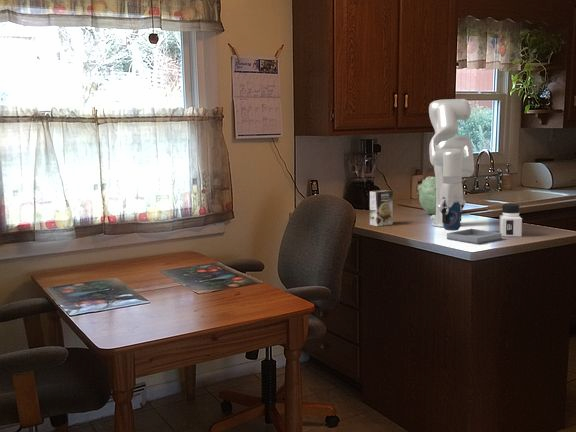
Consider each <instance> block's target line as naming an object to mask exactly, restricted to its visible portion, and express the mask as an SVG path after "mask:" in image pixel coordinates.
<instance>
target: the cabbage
mask: <svg viewBox="0 0 576 432" xmlns="http://www.w3.org/2000/svg"><path fill="white" fill-rule="evenodd" d="M417 191H418V193H417V195H418V201H419V204H420V205H421V207H422V209H423V210H424V211H425V212H426V213H427V214H429V215H431V216H432V215H436V178H435V176H430V175H429V176H426V178H425V179H422V181H421V184H418V185H417Z"/></svg>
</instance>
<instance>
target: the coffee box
mask: <svg viewBox="0 0 576 432" xmlns="http://www.w3.org/2000/svg"><path fill="white" fill-rule="evenodd" d="M393 192H394V191H393V190H386V189H384V190H383V189H382V190H371V191H369V226H375V227H382V226H383V225H384V226H391V225H393V222H394V221H393V217H394V216H393V206H394V205H393V204H394V203H393ZM384 226H383V227H384Z"/></svg>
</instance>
